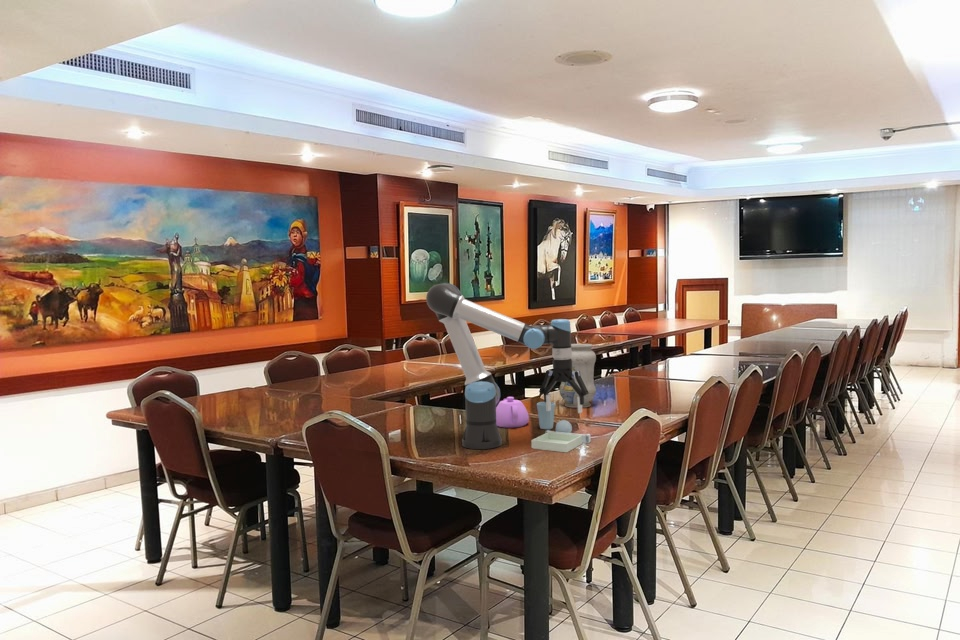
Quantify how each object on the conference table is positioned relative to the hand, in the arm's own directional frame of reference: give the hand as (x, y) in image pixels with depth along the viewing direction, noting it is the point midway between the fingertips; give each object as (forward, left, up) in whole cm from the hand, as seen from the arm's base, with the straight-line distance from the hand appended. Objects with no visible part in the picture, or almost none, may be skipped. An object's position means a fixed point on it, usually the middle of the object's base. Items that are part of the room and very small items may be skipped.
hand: (564, 411), depth 273 cm
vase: (-20, +61, -10) cm, 65 cm away
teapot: (-30, +11, -10) cm, 34 cm away
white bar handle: (+4, -6, -10) cm, 12 cm away
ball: (0, 0, -10) cm, 10 cm away
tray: (+4, -15, -10) cm, 18 cm away
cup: (-13, +11, -10) cm, 20 cm away
